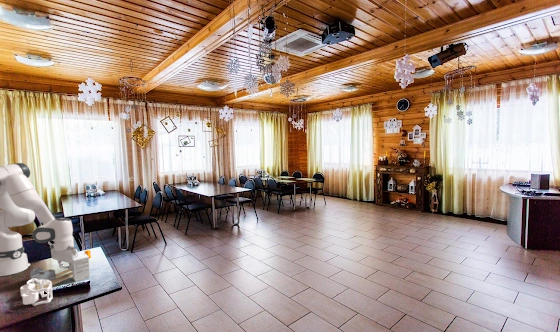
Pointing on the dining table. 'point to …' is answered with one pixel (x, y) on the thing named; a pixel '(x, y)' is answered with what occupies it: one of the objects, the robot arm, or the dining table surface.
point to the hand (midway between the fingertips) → (66, 268)
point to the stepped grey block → (35, 272)
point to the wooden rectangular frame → (51, 277)
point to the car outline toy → (36, 292)
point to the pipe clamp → (88, 253)
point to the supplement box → (80, 267)
